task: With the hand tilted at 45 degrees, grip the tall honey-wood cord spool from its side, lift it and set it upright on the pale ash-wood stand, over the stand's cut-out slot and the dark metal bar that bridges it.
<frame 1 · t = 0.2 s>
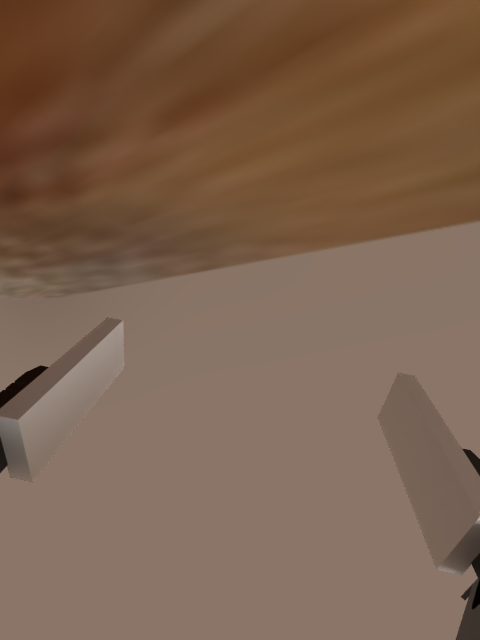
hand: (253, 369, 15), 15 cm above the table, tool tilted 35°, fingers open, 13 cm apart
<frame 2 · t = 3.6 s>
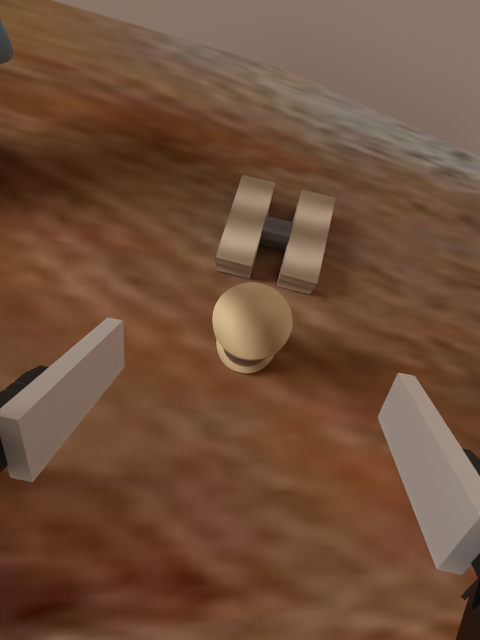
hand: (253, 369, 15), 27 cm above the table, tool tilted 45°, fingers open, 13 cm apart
cord spool: (246, 344, 43), on the table
slotted stand: (273, 241, 47), on the table
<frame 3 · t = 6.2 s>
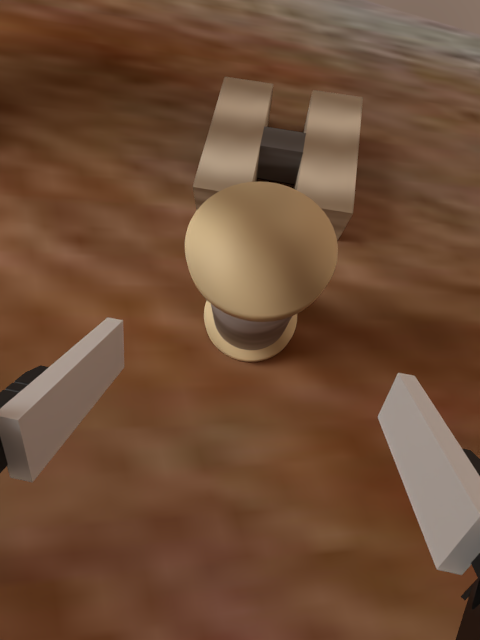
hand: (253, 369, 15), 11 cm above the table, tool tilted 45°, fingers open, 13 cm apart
cord spool: (250, 317, 28), on the table
slotted stand: (277, 172, 33), on the table
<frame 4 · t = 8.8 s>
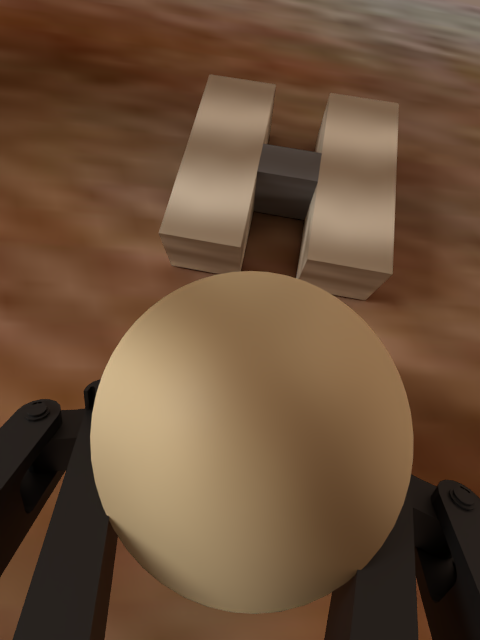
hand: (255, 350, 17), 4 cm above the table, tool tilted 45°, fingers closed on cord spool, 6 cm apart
cord spool: (241, 420, 19), on the table, touching gripper
slotted stand: (281, 202, 24), on the table
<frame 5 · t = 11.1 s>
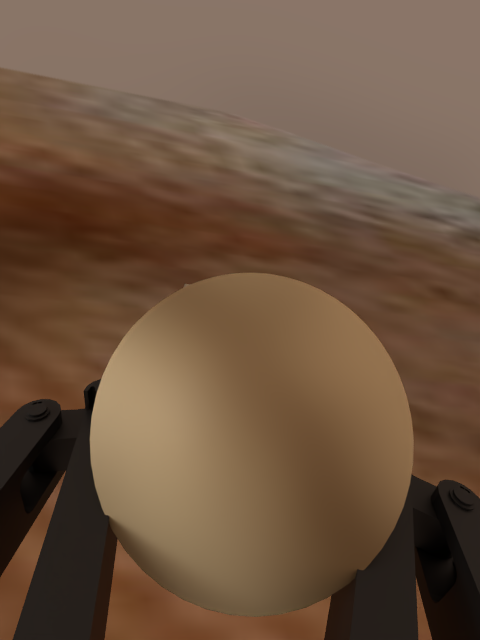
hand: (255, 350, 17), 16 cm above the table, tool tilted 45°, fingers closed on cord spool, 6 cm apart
cord spool: (241, 421, 19), point 12 cm above the table, touching gripper
when the fingers open (9 cm above the table, at t = 13.4 s): cord spool drops 1 cm, resting on slotted stand.
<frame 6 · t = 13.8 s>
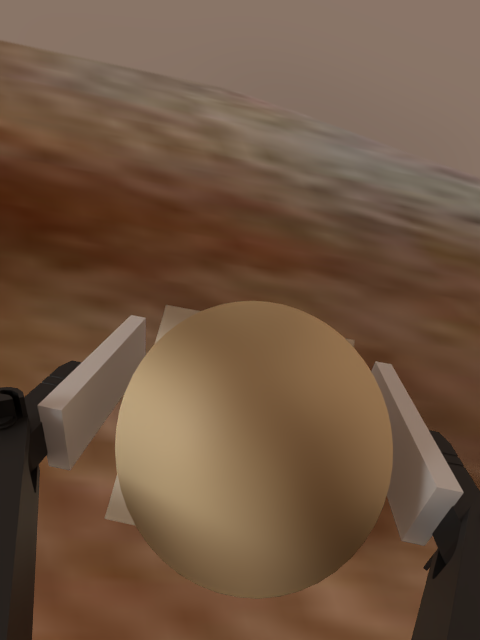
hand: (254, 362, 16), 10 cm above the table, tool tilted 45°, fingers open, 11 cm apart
cord spool: (242, 427, 20), point 4 cm above the table, touching slotted stand
slotted stand: (240, 421, 24), on the table
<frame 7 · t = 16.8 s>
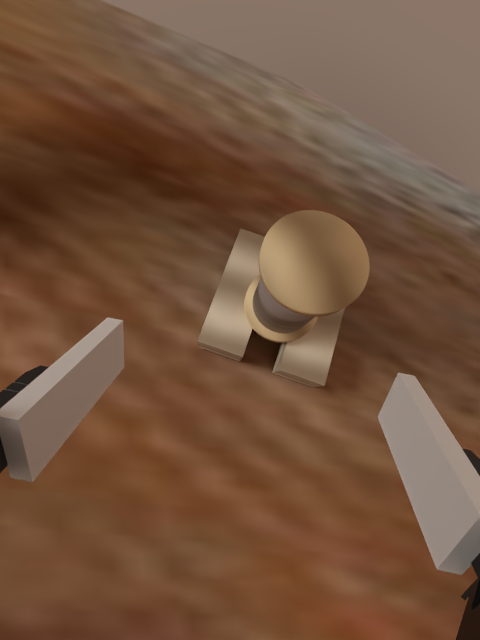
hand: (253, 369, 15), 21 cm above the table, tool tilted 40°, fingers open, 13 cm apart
cord spool: (280, 306, 34), point 4 cm above the table, touching slotted stand
slotted stand: (273, 312, 38), on the table
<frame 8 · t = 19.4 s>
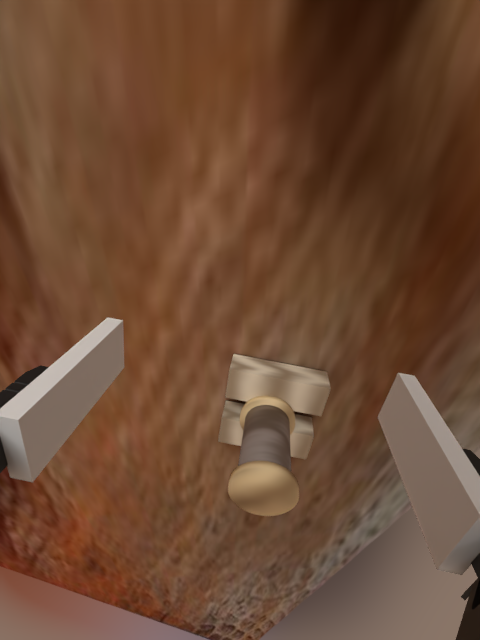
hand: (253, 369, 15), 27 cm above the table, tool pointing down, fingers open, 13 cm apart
cord spool: (267, 417, 46), point 4 cm above the table, touching slotted stand
slotted stand: (270, 399, 49), on the table
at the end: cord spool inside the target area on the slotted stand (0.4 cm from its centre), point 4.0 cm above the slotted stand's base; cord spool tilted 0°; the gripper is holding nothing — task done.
